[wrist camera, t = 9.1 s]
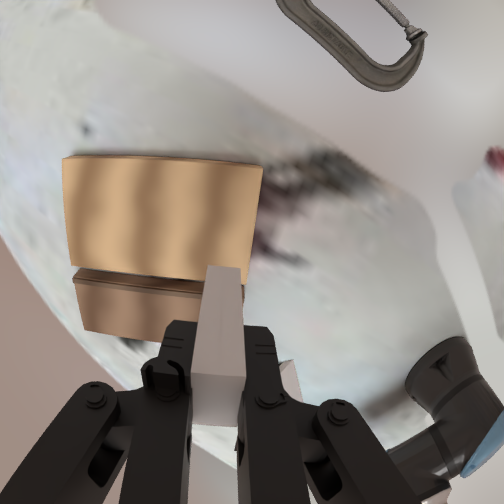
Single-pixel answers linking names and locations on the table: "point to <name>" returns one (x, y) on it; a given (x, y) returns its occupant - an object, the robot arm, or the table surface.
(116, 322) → the walnut floor board
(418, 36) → the c clamp
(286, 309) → the table surface
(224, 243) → the oak plank
